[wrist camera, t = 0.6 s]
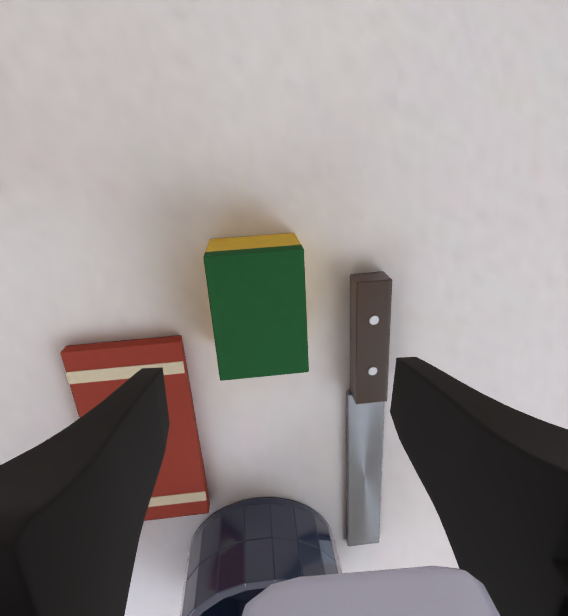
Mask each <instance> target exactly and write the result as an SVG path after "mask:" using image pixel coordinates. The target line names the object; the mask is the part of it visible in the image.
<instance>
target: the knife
mask: <svg viewBox="0 0 568 616" xmlns="http://www.w3.org/2000/svg"><path fill="white" fill-rule="evenodd" d="M391 295H392V279H391V278H390V277H389V276H388V275H387V274H385V273H384V272H373V273H361V274H351V275H350V391H349V392H347V544H348V546H355V545H363V544H371V543H379V528H380V502H381V477H382V452H383V427H384V402H385V401H387V389H388V365H389V342H390V318H391Z"/></svg>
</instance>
